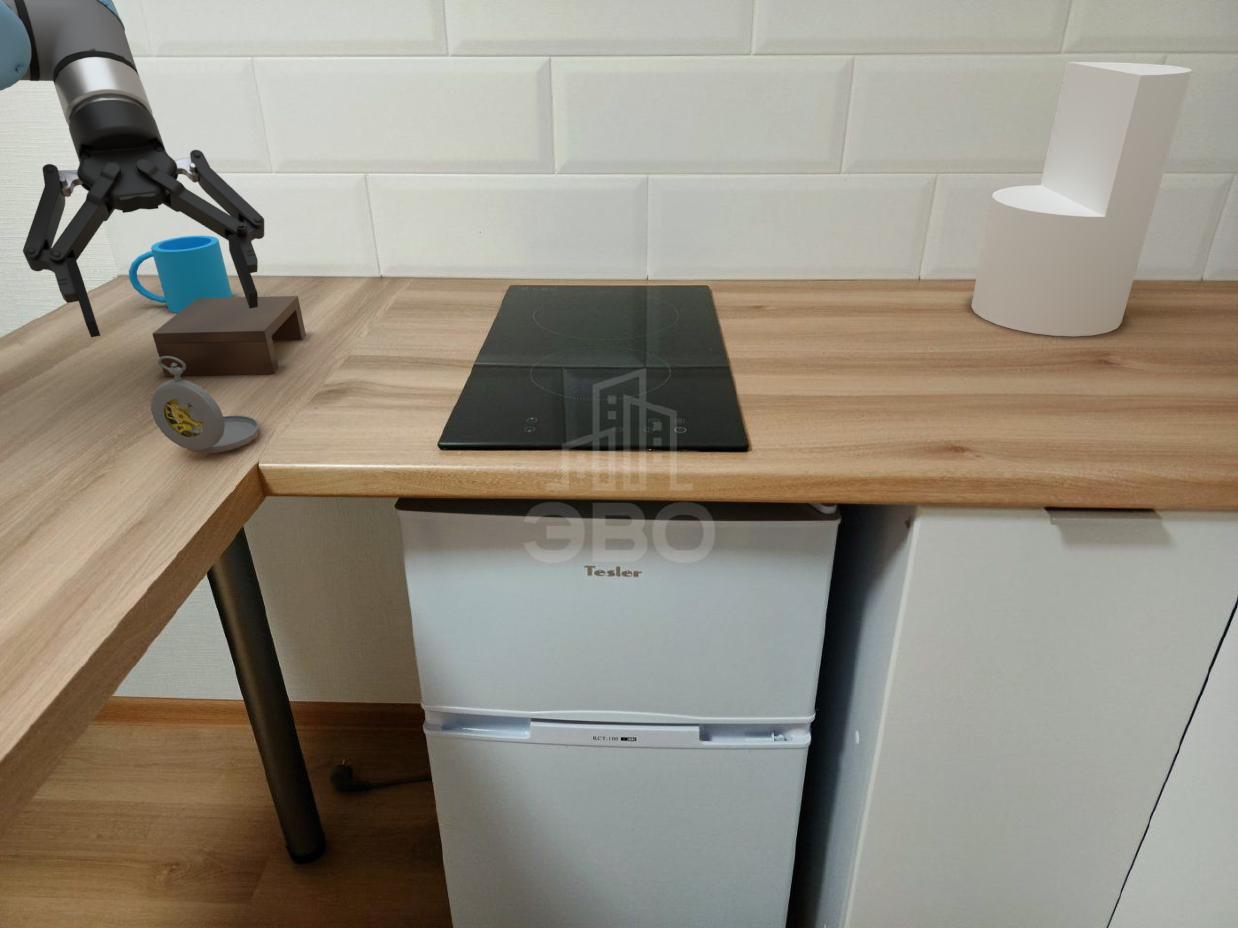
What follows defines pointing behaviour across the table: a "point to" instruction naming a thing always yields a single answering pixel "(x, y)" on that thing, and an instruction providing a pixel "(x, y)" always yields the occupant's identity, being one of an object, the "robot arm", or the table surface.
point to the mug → (185, 271)
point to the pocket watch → (197, 416)
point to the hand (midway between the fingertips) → (176, 315)
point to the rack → (229, 335)
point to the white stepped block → (1082, 204)
